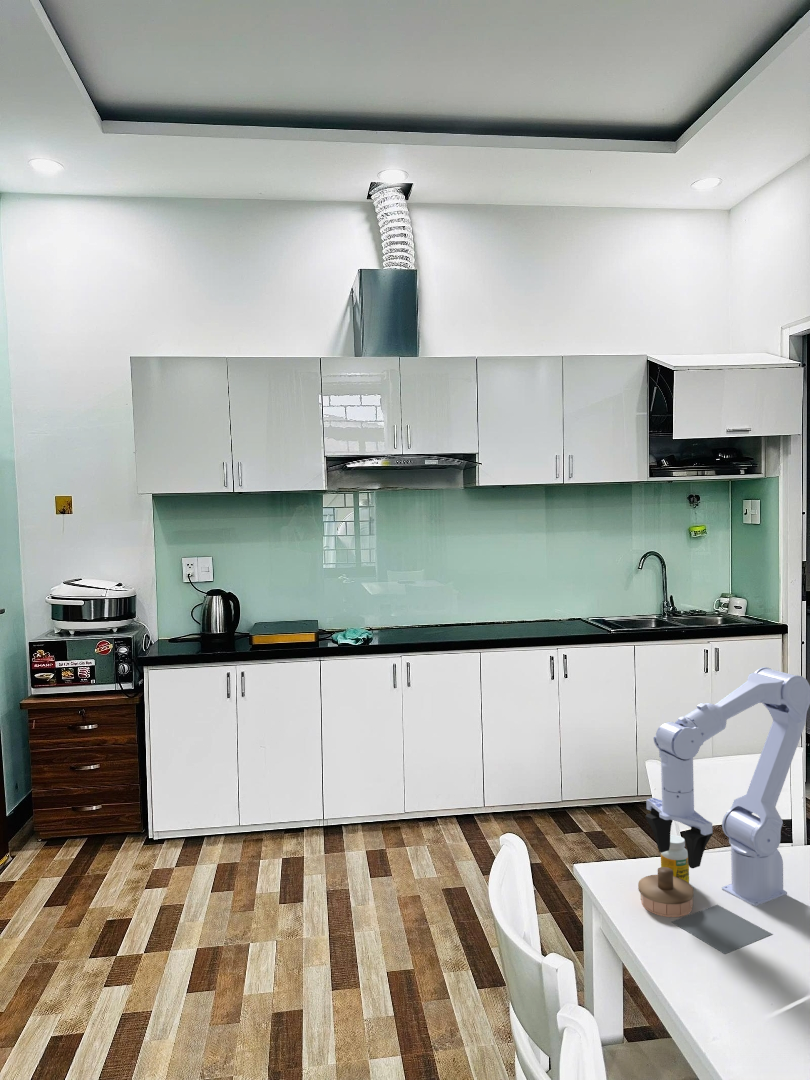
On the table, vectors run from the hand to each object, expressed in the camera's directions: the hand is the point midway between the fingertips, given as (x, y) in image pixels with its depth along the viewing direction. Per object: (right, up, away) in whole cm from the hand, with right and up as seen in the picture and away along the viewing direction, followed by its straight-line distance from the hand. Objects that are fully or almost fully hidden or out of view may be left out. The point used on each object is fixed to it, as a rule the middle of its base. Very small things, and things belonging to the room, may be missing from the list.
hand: (679, 858), depth 149 cm
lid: (-2, -7, +2) cm, 7 cm away
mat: (+5, -10, -7) cm, 13 cm away
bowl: (-2, -10, +2) cm, 10 cm away
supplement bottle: (+3, -10, +10) cm, 14 cm away
